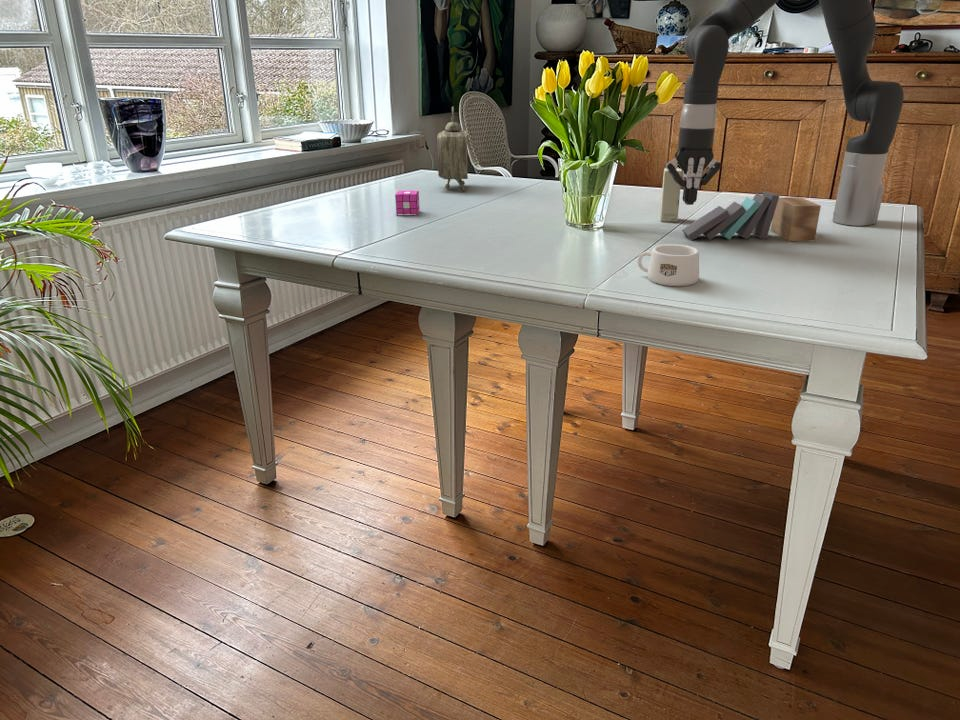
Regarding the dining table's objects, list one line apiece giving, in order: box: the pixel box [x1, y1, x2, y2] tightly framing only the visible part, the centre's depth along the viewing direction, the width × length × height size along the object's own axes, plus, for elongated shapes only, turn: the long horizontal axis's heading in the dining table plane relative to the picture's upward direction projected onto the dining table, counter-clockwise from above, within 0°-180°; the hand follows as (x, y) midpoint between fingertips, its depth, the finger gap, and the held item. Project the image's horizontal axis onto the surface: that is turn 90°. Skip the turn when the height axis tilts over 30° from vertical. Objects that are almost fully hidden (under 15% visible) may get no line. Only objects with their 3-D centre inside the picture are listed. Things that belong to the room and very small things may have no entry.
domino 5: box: [751, 190, 780, 240], centre depth 166 cm, size 2×5×10 cm, turn 3°
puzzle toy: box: [394, 190, 421, 215], centre depth 195 cm, size 6×6×6 cm
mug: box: [637, 243, 700, 287], centre depth 137 cm, size 12×10×6 cm
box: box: [659, 167, 683, 223], centre depth 182 cm, size 5×4×13 cm
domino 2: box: [702, 201, 746, 241], centre depth 166 cm, size 2×5×10 cm
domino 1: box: [681, 205, 730, 241], centre depth 166 cm, size 2×5×10 cm
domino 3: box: [719, 196, 760, 240], centre depth 166 cm, size 2×5×10 cm
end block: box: [770, 196, 822, 242], centre depth 167 cm, size 6×10×8 cm, turn 3°
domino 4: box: [735, 192, 771, 240], centre depth 166 cm, size 2×5×10 cm, turn 3°
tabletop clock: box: [436, 106, 469, 192], centre depth 223 cm, size 14×9×25 cm, turn 1°
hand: (689, 204), depth 164 cm, fingers closed
